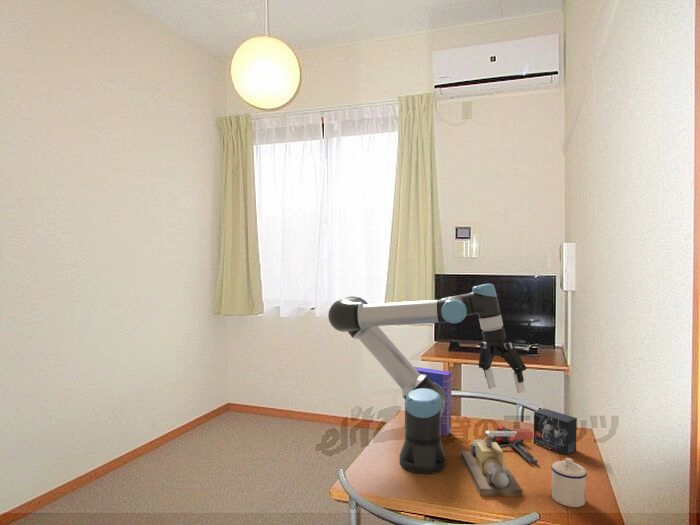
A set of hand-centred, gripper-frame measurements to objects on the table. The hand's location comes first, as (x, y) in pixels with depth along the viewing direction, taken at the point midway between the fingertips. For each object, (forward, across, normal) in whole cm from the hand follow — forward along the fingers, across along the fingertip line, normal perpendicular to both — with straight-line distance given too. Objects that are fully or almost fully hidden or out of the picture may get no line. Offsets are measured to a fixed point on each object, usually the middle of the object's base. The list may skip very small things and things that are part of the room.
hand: (506, 389), depth 160 cm
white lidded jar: (+27, -23, +8) cm, 36 cm away
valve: (+24, +8, -3) cm, 25 cm away
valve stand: (+22, -4, +18) cm, 28 cm away
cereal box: (+17, +35, +12) cm, 41 cm away
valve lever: (+11, -8, +11) cm, 17 cm away
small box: (+27, +3, -19) cm, 33 cm away
